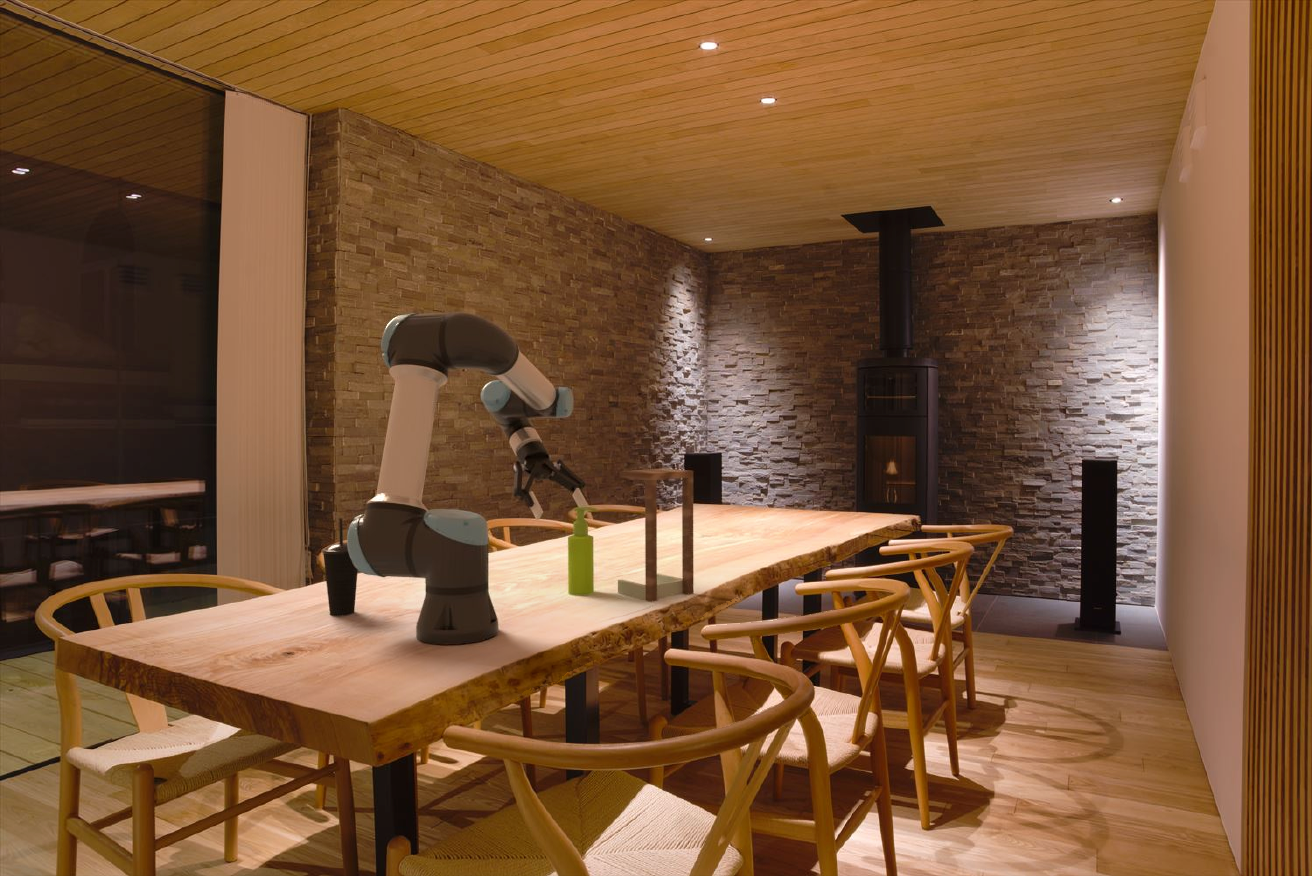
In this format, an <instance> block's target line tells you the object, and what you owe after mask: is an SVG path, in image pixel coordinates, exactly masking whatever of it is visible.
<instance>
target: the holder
mask: <svg viewBox="0 0 1312 876" xmlns="http://www.w3.org/2000/svg"><path fill="white" fill-rule="evenodd" d="M617 593H618V594H621V595H624V596H628V597H632V598H636V599H640V600H643V601H646V584H643V583H640V582H639V583H638V582H634V581H631V580H625V579H618V580H617ZM682 594H683V581H682V578H680V577H676V576H672V575H668V574H663V573H657V599H660V598H665V597H666V598H667V597H671V596H675V595H682Z"/></svg>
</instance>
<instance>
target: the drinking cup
mask: <svg viewBox="0 0 1312 876" xmlns="http://www.w3.org/2000/svg"><path fill="white" fill-rule="evenodd" d="M343 519H344V518H342V517H339V519H338V522H339V523H338V524H339V526H338V527H339V528H338V530H339V535H338V536H339V542H337V543H332V544H329V545H328V546H327V547H325V548H322V549H321V553H322V555H323V564H324V572H325V581H326V591H327V592H326V593H327V599H328V601H327V602H328V607H329V615H330V616H334V617H336V616H337V617H341V616H342V615H343V616H349V615H352V614H353V615H354V613H355V609H356V608H355V605H356V595H357V581H358V572H359V570H358V569H357V568H356V567H355V566H354V564H353V563H352V559H351V558H350V556H349V552H348V546H347V542H344V533H343V532H344V531H343V529H344V523H343V521H344V520H343Z"/></svg>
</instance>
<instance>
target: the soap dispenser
mask: <svg viewBox="0 0 1312 876" xmlns="http://www.w3.org/2000/svg"><path fill="white" fill-rule="evenodd" d="M584 510H588V511H590V512H591V511H593V512H597V511H598V508H596V507H592V506H589V507H578V506H576V507H574V508H573V512H576V520H575V521H573V522H572V523H573V524H572V525H573V527H572V528H573V529H572V530H573V533H572V534H573V535H570V536H568V537H567V555H568V556H567V565H568V567H567V568H568V569H567V570H568V572H567V573H568V575H567V577H568V579H567V580H568V582H567V586H568V589H567V591H568V592H567V593H568V594H569V595H571V596H588V595H592V594H594V591H595V589H594V588H595V586H594V585H595V583H594V582H595V581H594V577H595V576H594V569H595V568H594V536H593V535H589V522H588V521H587V520H586V519H585V515H584Z"/></svg>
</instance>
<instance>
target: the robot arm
mask: <svg viewBox="0 0 1312 876" xmlns="http://www.w3.org/2000/svg"><path fill="white" fill-rule="evenodd" d="M380 347H381V349H380V351H382V352H383V353H382V355H381V357H382V360H383V362H384V364H385V366H386V367H387V368H389V371H388V373H389V375H390V376H391V377H392V379H393V380H394V388H393V394H392V399H391V406H390V411H389V417H388V422H387V428H386V434H385V440H384V441H385V442H384V447H383V453H382V459H381V465H380V471H379V475H378V476H379V477H378V483H377V489H376V493H375V496H374V497H373V498H371V499H369V500H368V501H367V502H366V504H365V511H364V513H361V514H360V515H357V516H355V517H354V518H353V520H352V522H351V523H350V524H349V526H348V531H347V536H346V537H347V538H346V541H347V542H346V543H347V546H348V552H349V556H350V558H351V559H352V563H353V564H354V566H355V567H356V568H357V569H358V572H360V573H362V574H363V575H367V576H374V577H375V576H376V577H380V578H386V577H393V578H395V577H397V578H414V579H419V578H420V579H425V581H424V582H425V595H424V596H425V597H424V599H423V603H422V606H421V610H420V612H419V616H418V619H417V622H416V626H415V627H416V628H415V630H416V632H415V634H416V637H415V638H416V639H417V640H418V641H421V642H423V643H428V644H433V645H434V644H435V645H461V644H460V643H465V644H470V643H472V644H473V643H477V641H478V642H481V641H485V639H486V640H488V638H489V639H491V637H492V638H494V637H495V636H497V634H499V619H498V616H497V614H496V610H495V607H494V605H493V602H492V598H491V595H490V593H489V591H490V589H489V543H490V536H489V529H488V522H487V519H486V518H485V517H483V516H482V515H481V514H479V513H476V512H473V511H469V510H462V509H454V508H450V509H448V508H433V509H428V508H427V507H426V506H425V504H423V502H422V499H423V493H424V492H423V491H424V486H425V481H426V479H425V478H426V474H427V468H428V467H427V466H428V460H429V455H430V454H429V453H430V448H431V440H432V435H433V428H434V420H435V415H436V409H437V408H436V407H437V401H438V395H439V389H440V388H441V387H443V386H444V385H445V384H447V383H448V379H449V373H450V370H452V371H453V370H475V371H476V370H478V371H481V372H483V373H484V374H486V375H488V376H493V377H496V378H497V379H496V380H491V381H490V382H488V383H486V384H485V385H484V387H483V388H482V390H481V392H480V399H481V402H482V403H483V405H484V407H485V409H486V411H487V412H488V413H489V414H490V415H491V417H492V418H493V419H494V420H495V422H496V423H497V425H498V426H499V427H500V429H501V430H502V433H503V434H504V436H505V438H506V439H507V440H508V443H509V445H510V447H511V449H512V451H513V453H514V454H515V456H516V458H517V461H515V463H514V465H513V466H512V472H513V475H514V476H513V490H512V496H513V497H515V498H517V497H518V496H519V500H520V501H524V503H525V505H526V507H528V508H529V509H530V510H531V512H532V514H533V516H534V518H535V520H536V521H537V520H540V518H541V517H542V515H543V514H544V511H543V509H542V507H541V505H540V503H539V501H538V499H537V497H536V495H535V493H534V491H530V489H531V488H532V484H533V483H534V480H535V479H536V480H538V481H539V480H550V481H551V482H553V481H554V482H555V483H557V484H559V486H561V487H563V488H565V489H566V490H568V491H570V492H571V493H572V495H571V496H572V498H573V500H574V501H575V504H576V505H577V507H590V505H589V503H588V502H587V497H586V495H585V493H584V489H585V487H586V486H587V484H586V482H585V481H583V480H582V479H581V478H580V477H579V476H578V475H577V474H576V473H575V472H573V471H572V470H571V469H570V468H569V467H567V466H566V465H565V463H564V462H563V460H562V459H558V460H557V461H555V462H553V461H552V460H551V459H550V456H549V455H550V454H549V452H548V450H547V448H546V446H545V444H544V443H543V440H542V439H541V437H540V435H539V433H538V432H537V430H536V428H535V426H534V425H533V423H532V421H531V419H535V418H537V419H559V418H568V417H570V416H571V415H572V413H573V410H574V404H575V403H574V400H575V399H574V394H573V391H572V389H570V388H569V387H567V386H565V387H564V386H554V384H552V382H550V381H549V379H548V378H547V377H545V376H544V374H543V373H542V372H541V371H540V370H539V369H537V367H536V366H535V365H533V363H532V362H531V361H530V360H529V359H528V358H527V357H526V356H525V355H524V354H523V353H522V352H521V351H520V347H519V344H518V342H517V340H516V339H515V338H514V337H513V336H512V334H510V333H509V332H508V331H506V330H505V329H504V328H502V327H501V326H499V325H498V324H496V323H495V322H494V321H491V320H489V319H487V318H485V317H482V316H480V315H477V314H476V313H475V314H474V313H471V312H465V311H456V312H433V313H432V312H431V313H430V312H429V313H426V312H425V313H420V312H413V313H408V314H400V315H397V316H396V317H394V318H392V319H391V320H390V321H389V322H388V323H387V325H386V326H385V328H384V330H383V333H382V338H381V344H380ZM524 472H525V473H526V474H528V478H526V479H527V480H526V481H525V484H524V487H523V473H524ZM553 472H554V473H553ZM522 487H523V488H522ZM588 511H589V510H584V516H586V514H587V513H588ZM493 636H494V637H493Z"/></svg>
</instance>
